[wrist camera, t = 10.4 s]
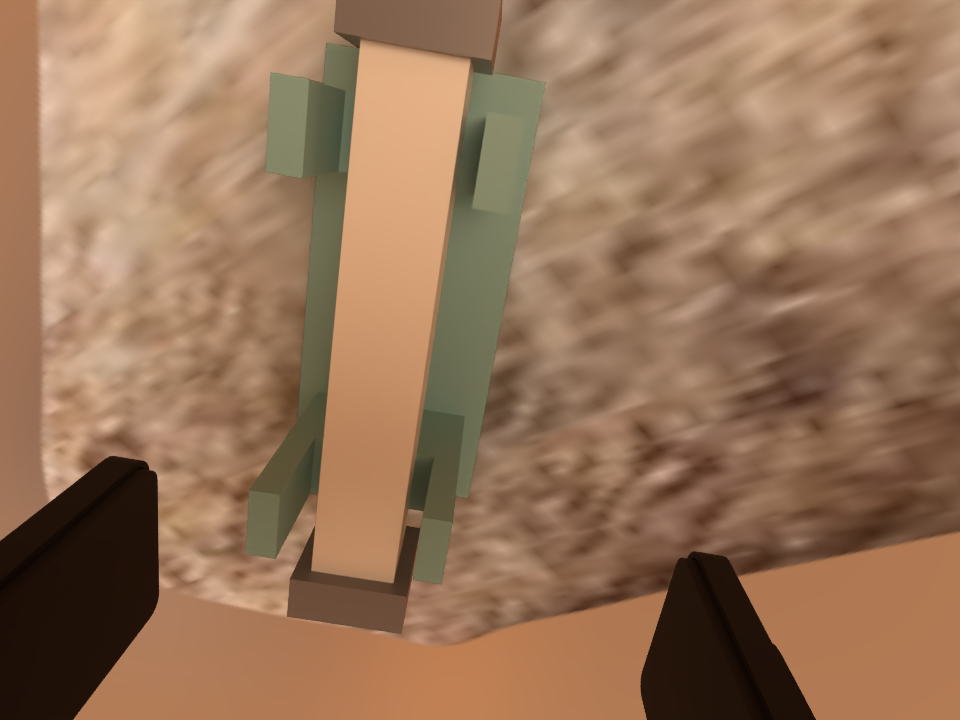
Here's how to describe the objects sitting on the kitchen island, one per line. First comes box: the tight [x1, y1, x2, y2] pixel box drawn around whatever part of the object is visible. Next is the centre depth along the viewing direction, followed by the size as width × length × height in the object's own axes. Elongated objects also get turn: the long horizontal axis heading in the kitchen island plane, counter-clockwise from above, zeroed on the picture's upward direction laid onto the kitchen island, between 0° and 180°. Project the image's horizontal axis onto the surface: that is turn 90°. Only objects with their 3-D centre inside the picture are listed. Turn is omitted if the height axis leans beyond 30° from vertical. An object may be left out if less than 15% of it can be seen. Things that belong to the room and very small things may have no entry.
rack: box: [246, 43, 546, 584], centre depth 28 cm, size 10×22×11 cm, turn 170°
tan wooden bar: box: [287, 0, 502, 634], centre depth 26 cm, size 5×25×5 cm, turn 170°
